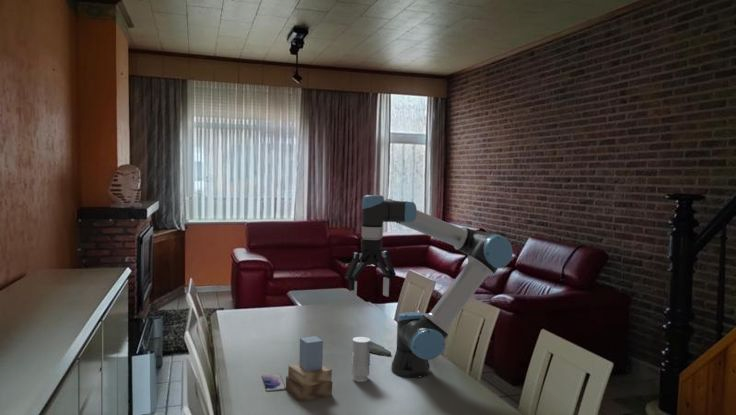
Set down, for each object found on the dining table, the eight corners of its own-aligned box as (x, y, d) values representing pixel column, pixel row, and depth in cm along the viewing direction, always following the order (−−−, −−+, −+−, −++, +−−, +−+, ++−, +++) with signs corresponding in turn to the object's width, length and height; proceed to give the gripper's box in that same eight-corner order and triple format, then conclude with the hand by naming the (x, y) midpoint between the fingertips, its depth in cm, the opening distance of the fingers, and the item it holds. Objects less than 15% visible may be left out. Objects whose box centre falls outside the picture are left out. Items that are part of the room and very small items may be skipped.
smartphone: (265, 390, 184) (261, 375, 198) (265, 393, 184) (261, 377, 198) (286, 388, 186) (280, 373, 200) (286, 390, 186) (280, 375, 200)
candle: (368, 375, 202) (370, 336, 202) (369, 382, 195) (371, 342, 195) (350, 375, 202) (352, 336, 201) (351, 382, 195) (352, 342, 194)
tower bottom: (316, 384, 193) (316, 370, 193) (331, 396, 183) (332, 381, 183) (285, 390, 187) (286, 376, 187) (300, 402, 177) (300, 388, 176)
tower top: (315, 371, 193) (315, 360, 192) (331, 381, 184) (331, 369, 183) (288, 376, 186) (288, 365, 186) (303, 387, 177) (303, 375, 177)
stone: (397, 350, 228) (379, 353, 221) (396, 357, 228) (378, 361, 222) (372, 338, 241) (354, 341, 235) (371, 345, 241) (354, 348, 235)
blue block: (314, 363, 189) (315, 336, 188) (322, 369, 184) (322, 340, 183) (299, 366, 186) (300, 338, 185) (306, 371, 181) (306, 343, 180)
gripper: (394, 236, 198) (392, 292, 199) (336, 238, 185) (334, 298, 186) (406, 238, 192) (404, 296, 193) (346, 240, 178) (344, 303, 179)
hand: (369, 297), depth 189 cm, fingers open, 13 cm apart
